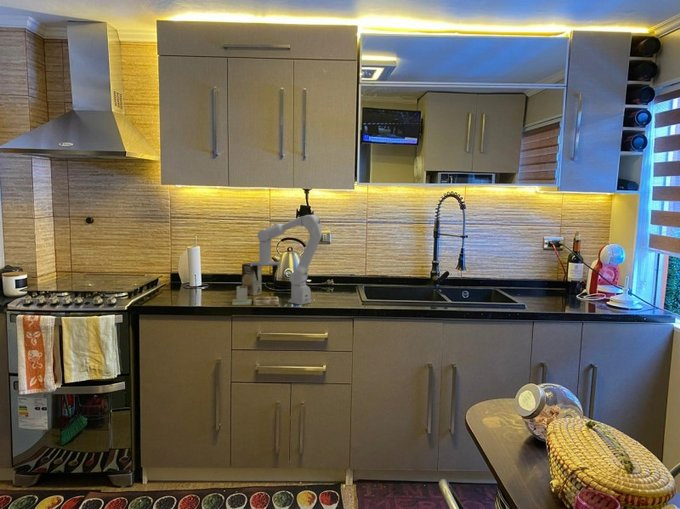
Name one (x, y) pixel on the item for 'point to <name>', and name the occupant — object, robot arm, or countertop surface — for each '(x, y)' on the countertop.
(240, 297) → the knob-topped grey cube
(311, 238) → the robot arm
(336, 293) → the countertop surface
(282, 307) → the countertop surface
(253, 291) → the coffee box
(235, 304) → the rubber pad
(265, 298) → the birch frame
